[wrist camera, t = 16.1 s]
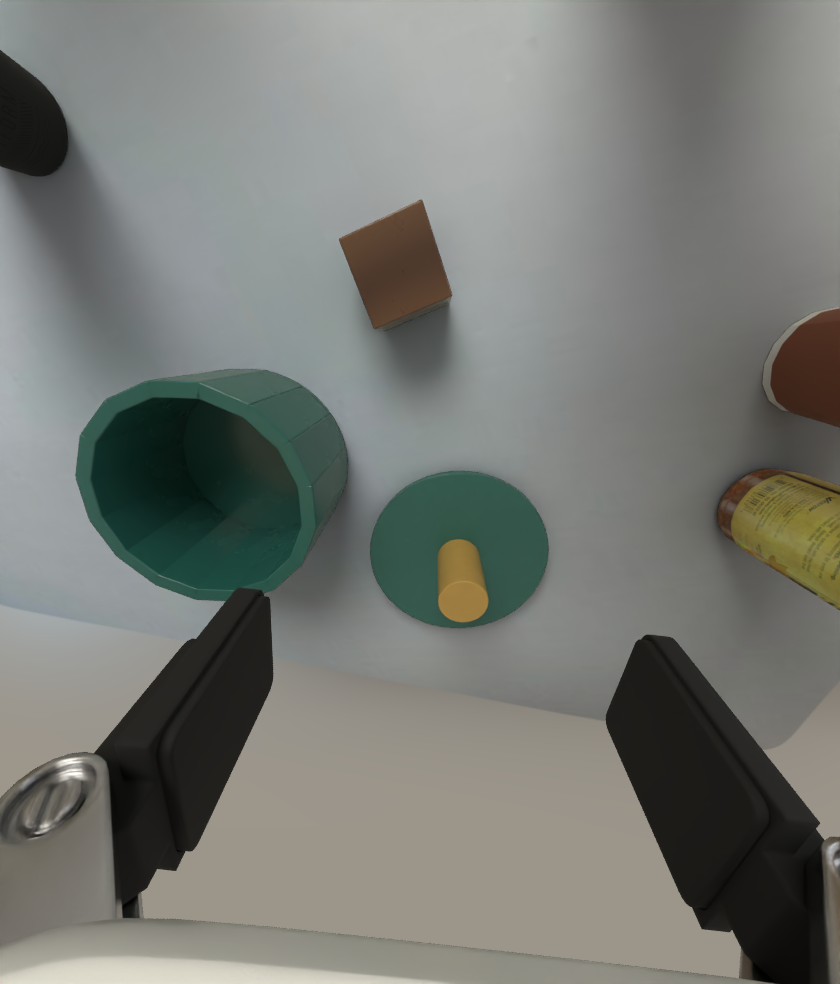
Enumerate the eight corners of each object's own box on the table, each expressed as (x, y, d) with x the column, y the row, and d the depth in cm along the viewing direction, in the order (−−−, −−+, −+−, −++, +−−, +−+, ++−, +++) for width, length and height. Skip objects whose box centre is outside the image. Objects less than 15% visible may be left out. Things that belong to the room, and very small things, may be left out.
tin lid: (344, 502, 30) (320, 546, 23) (516, 441, 27) (541, 471, 21) (409, 635, 34) (404, 701, 28) (562, 592, 32) (593, 654, 26)
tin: (142, 408, 27) (24, 435, 19) (298, 339, 25) (237, 339, 17) (234, 553, 32) (167, 624, 24) (374, 504, 30) (353, 564, 22)
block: (355, 256, 23) (338, 238, 19) (424, 224, 23) (422, 198, 19) (384, 331, 25) (373, 329, 21) (449, 303, 24) (452, 295, 20)
